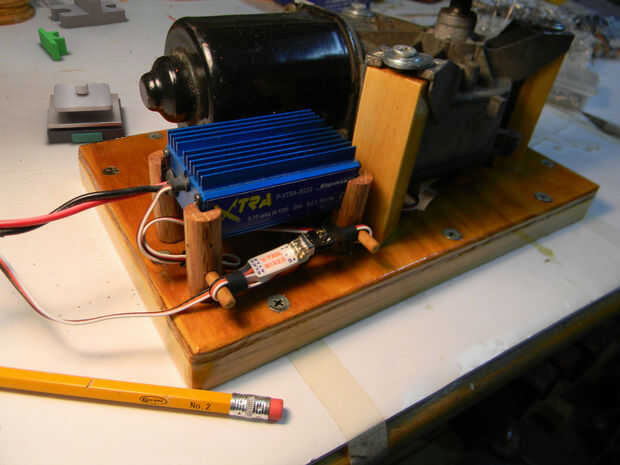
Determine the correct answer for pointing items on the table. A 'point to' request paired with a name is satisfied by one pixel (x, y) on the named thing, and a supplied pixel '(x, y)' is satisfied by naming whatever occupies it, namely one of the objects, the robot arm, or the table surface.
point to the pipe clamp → (53, 43)
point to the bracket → (87, 13)
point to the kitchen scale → (86, 133)
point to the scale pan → (85, 116)
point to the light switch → (82, 97)
